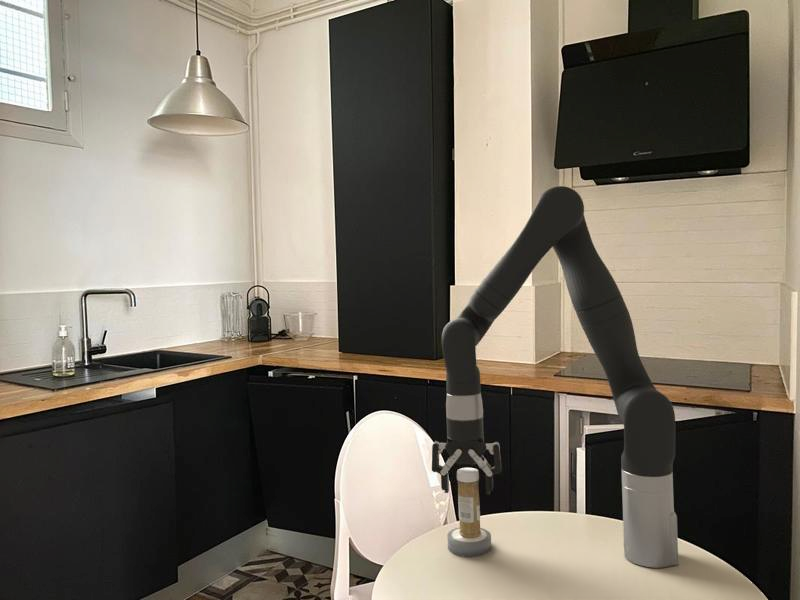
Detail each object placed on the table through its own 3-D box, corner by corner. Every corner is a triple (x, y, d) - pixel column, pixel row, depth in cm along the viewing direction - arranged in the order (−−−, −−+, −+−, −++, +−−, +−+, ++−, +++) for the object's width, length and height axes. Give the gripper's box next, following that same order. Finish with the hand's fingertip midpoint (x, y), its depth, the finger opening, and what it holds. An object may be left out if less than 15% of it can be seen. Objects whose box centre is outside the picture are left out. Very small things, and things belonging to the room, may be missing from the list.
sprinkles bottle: (485, 534, 126) (483, 469, 126) (470, 540, 124) (467, 474, 123) (469, 528, 130) (467, 465, 130) (454, 534, 127) (451, 470, 127)
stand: (492, 539, 130) (492, 526, 130) (490, 557, 122) (489, 544, 122) (450, 537, 132) (450, 525, 132) (445, 555, 123) (444, 542, 123)
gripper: (427, 418, 124) (430, 497, 124) (498, 418, 121) (501, 500, 122) (433, 410, 131) (436, 485, 132) (500, 411, 129) (503, 487, 129)
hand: (467, 492), depth 127 cm, fingers open, 8 cm apart
